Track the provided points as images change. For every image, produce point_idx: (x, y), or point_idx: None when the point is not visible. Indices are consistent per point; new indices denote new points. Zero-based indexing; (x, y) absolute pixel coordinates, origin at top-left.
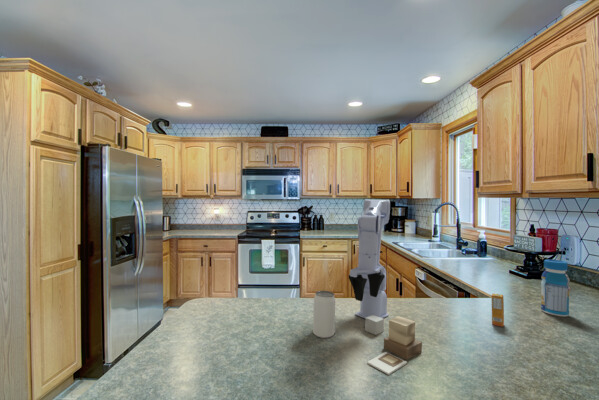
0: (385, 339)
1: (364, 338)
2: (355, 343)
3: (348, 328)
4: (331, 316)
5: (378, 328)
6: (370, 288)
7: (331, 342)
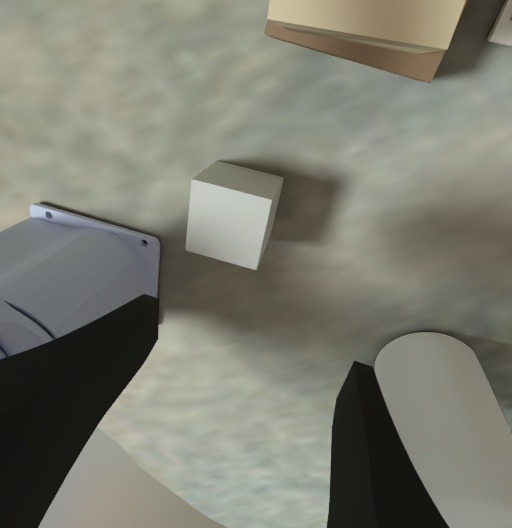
0: (436, 69)
1: (361, 210)
2: (446, 226)
3: (304, 303)
4: (479, 413)
5: (257, 180)
6: (121, 384)
7: (496, 315)
